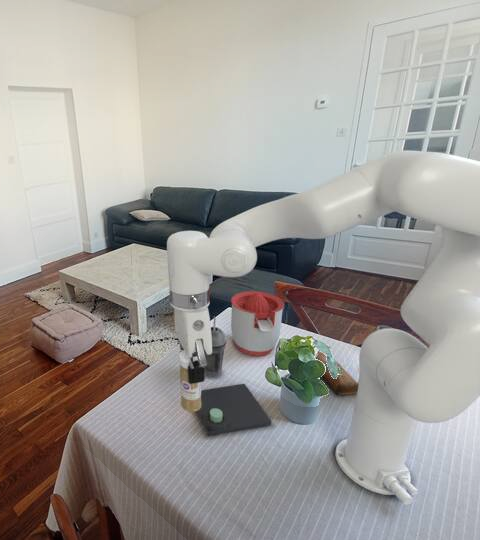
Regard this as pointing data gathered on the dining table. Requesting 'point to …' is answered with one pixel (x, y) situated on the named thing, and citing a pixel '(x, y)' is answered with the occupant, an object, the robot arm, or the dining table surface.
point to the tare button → (216, 415)
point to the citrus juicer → (256, 322)
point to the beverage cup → (215, 352)
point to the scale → (231, 410)
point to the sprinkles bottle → (188, 386)
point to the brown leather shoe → (339, 379)
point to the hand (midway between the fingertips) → (192, 372)
